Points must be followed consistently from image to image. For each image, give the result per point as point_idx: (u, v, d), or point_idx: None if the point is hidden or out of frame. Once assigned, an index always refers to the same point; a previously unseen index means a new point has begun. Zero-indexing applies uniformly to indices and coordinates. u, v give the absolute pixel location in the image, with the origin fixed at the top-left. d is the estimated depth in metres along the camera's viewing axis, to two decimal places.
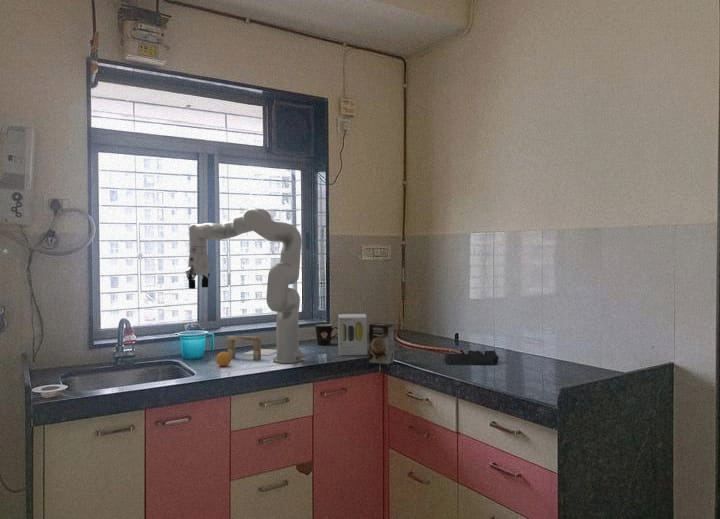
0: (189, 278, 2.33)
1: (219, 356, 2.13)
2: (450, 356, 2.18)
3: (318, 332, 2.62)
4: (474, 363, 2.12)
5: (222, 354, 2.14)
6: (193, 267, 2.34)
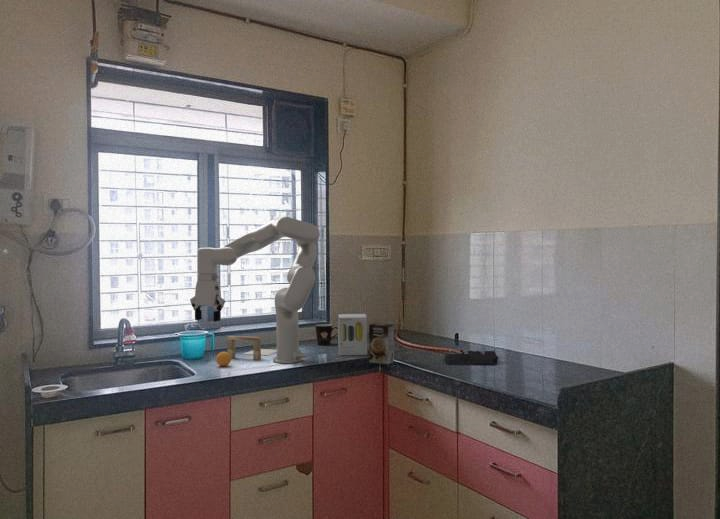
0: (219, 309, 2.07)
1: (219, 356, 2.13)
2: (450, 356, 2.18)
3: (318, 332, 2.62)
4: (474, 363, 2.12)
5: (222, 354, 2.14)
6: None
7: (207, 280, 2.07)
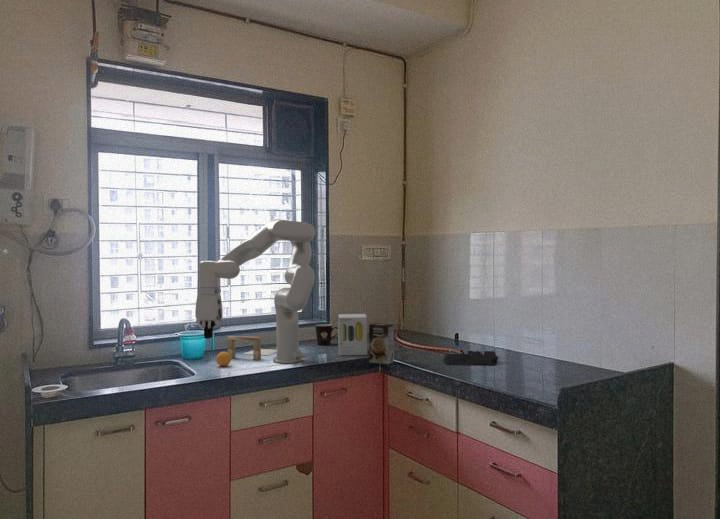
0: (212, 326, 2.06)
1: (219, 356, 2.13)
2: (449, 356, 2.18)
3: (318, 332, 2.62)
4: (473, 363, 2.12)
5: (222, 354, 2.14)
6: (221, 311, 2.06)
7: (210, 294, 2.03)
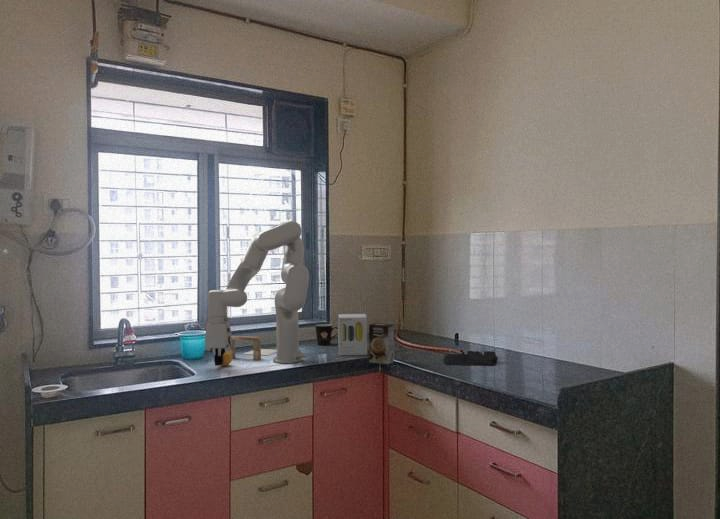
0: (222, 353, 2.11)
1: None
2: (449, 356, 2.17)
3: (318, 332, 2.62)
4: (472, 363, 2.11)
5: None
6: (230, 338, 2.12)
7: (219, 323, 2.09)
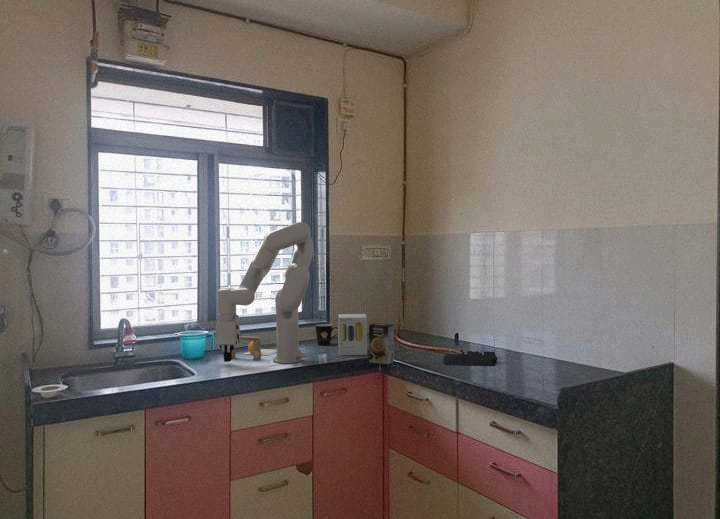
0: (231, 350, 2.18)
1: None
2: (448, 356, 2.17)
3: (318, 332, 2.62)
4: (472, 364, 2.11)
5: None
6: (239, 335, 2.18)
7: (228, 320, 2.15)
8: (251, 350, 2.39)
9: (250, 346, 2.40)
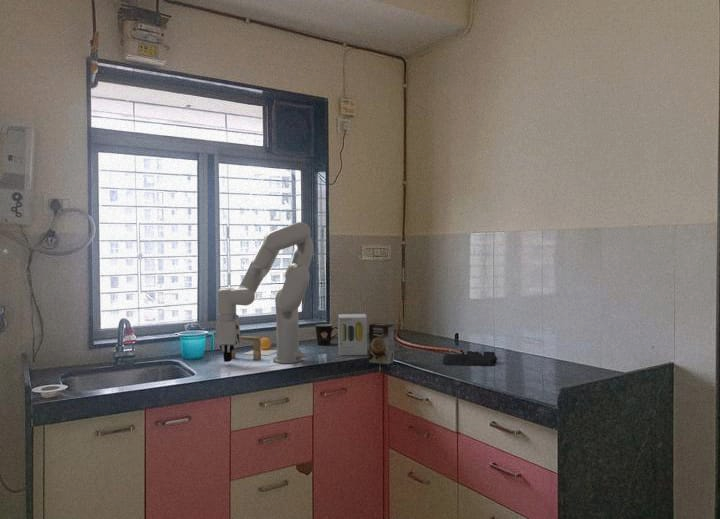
0: (231, 350, 2.18)
1: (261, 341, 2.50)
2: (448, 356, 2.17)
3: (318, 332, 2.62)
4: (471, 364, 2.11)
5: (264, 339, 2.51)
6: (239, 335, 2.18)
7: (228, 320, 2.15)
8: None
9: None
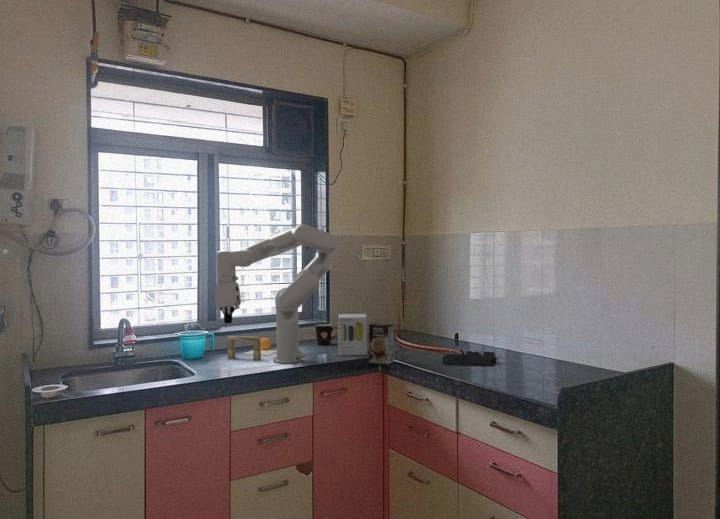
0: (232, 312, 2.18)
1: (261, 341, 2.50)
2: (448, 357, 2.17)
3: (318, 332, 2.62)
4: (471, 364, 2.11)
5: (264, 339, 2.51)
6: (239, 297, 2.18)
7: (228, 281, 2.15)
8: None
9: None
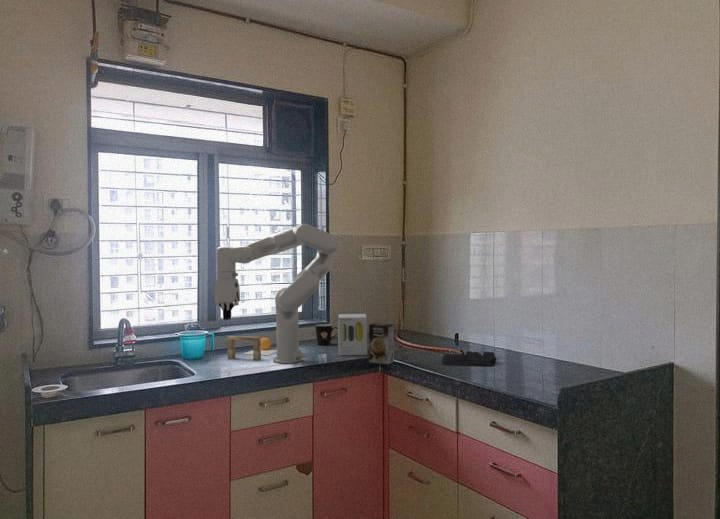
0: (231, 308, 2.18)
1: (261, 341, 2.50)
2: (447, 357, 2.17)
3: (318, 332, 2.62)
4: (470, 364, 2.10)
5: (264, 339, 2.51)
6: (238, 293, 2.18)
7: (228, 278, 2.15)
8: None
9: None
